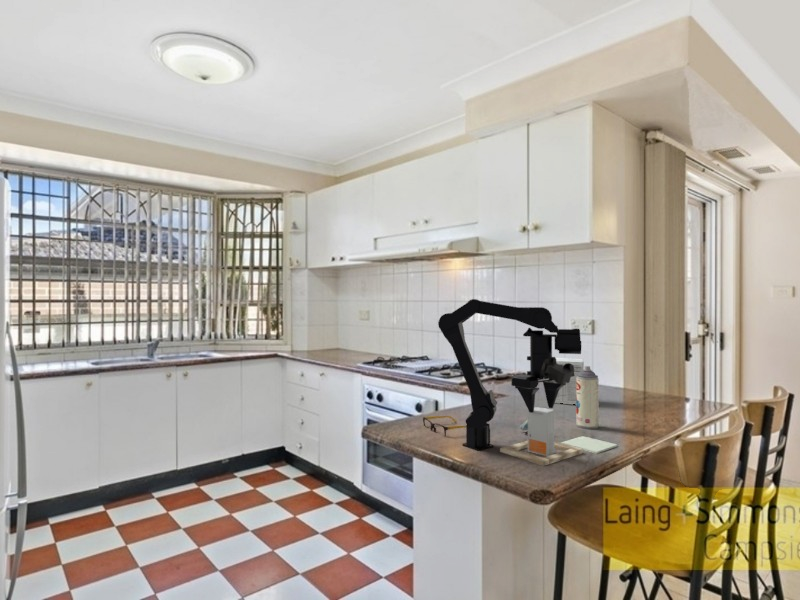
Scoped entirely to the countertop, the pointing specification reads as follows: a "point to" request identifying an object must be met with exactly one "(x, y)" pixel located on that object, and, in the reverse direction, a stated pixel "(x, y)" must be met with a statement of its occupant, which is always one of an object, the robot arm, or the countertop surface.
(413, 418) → the countertop surface
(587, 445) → the sage mat
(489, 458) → the countertop surface
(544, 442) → the skincare box
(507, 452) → the wooden frame
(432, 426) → the eyeglasses
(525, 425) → the pacifier
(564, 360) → the supplement box
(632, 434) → the countertop surface
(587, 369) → the aerosol can
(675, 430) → the countertop surface
